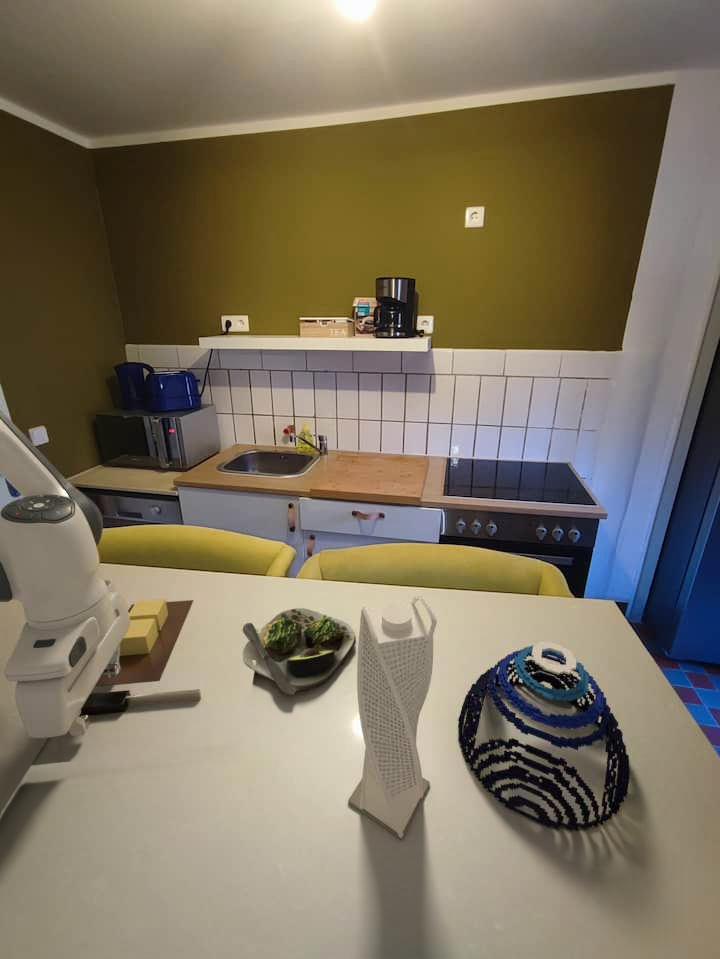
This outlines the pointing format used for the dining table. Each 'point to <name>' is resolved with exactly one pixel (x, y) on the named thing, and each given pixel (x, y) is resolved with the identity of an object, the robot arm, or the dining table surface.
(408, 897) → the dining table surface
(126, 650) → the butter block
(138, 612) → the butter slice
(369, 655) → the skyscraper
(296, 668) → the salad plate
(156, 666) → the cutting board
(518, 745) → the decorative bowl
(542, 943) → the dining table surface
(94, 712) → the knife
